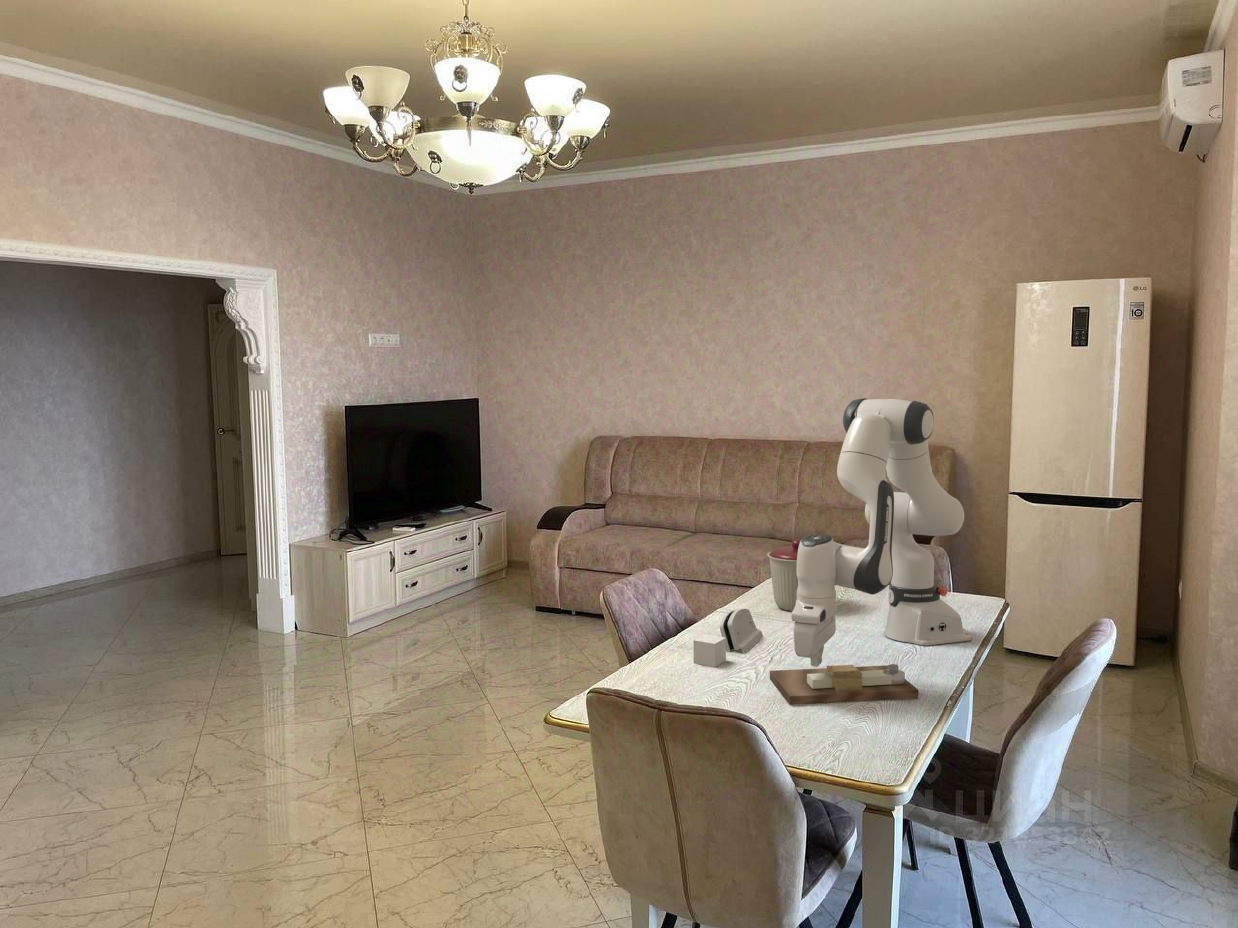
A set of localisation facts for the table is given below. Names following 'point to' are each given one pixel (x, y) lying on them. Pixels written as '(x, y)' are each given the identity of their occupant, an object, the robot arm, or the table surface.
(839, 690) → the block
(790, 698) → the board
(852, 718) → the table surface
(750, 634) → the hinge
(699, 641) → the light grey cube
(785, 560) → the canister
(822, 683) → the link
